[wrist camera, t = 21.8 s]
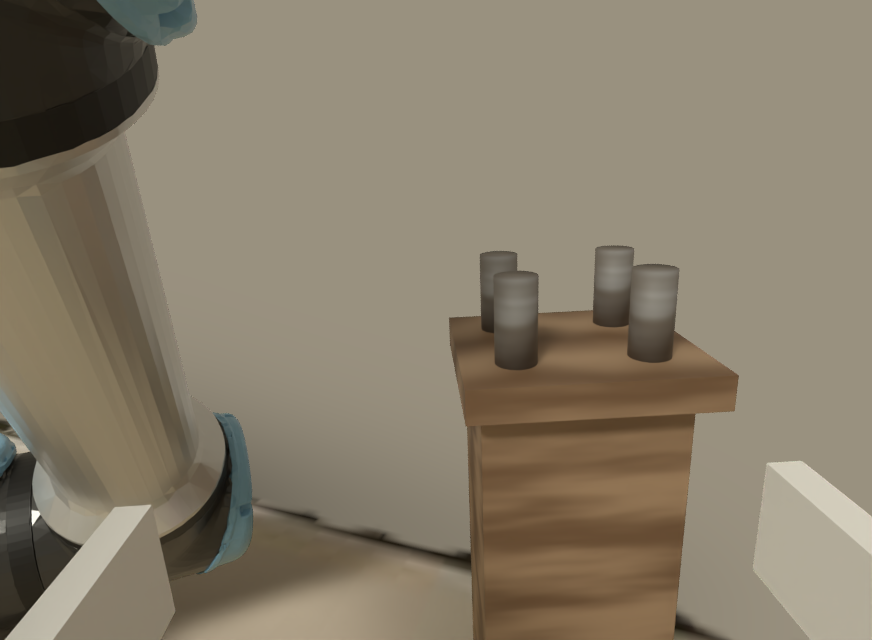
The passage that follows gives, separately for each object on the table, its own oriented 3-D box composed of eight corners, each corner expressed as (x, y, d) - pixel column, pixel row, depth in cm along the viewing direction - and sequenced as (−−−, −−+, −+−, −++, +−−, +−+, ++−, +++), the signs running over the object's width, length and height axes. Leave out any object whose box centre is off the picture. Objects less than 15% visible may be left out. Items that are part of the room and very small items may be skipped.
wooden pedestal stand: (688, 797, 38) (750, 279, 28) (477, 812, 37) (461, 294, 27) (620, 636, 50) (645, 239, 40) (461, 646, 50) (446, 249, 40)
